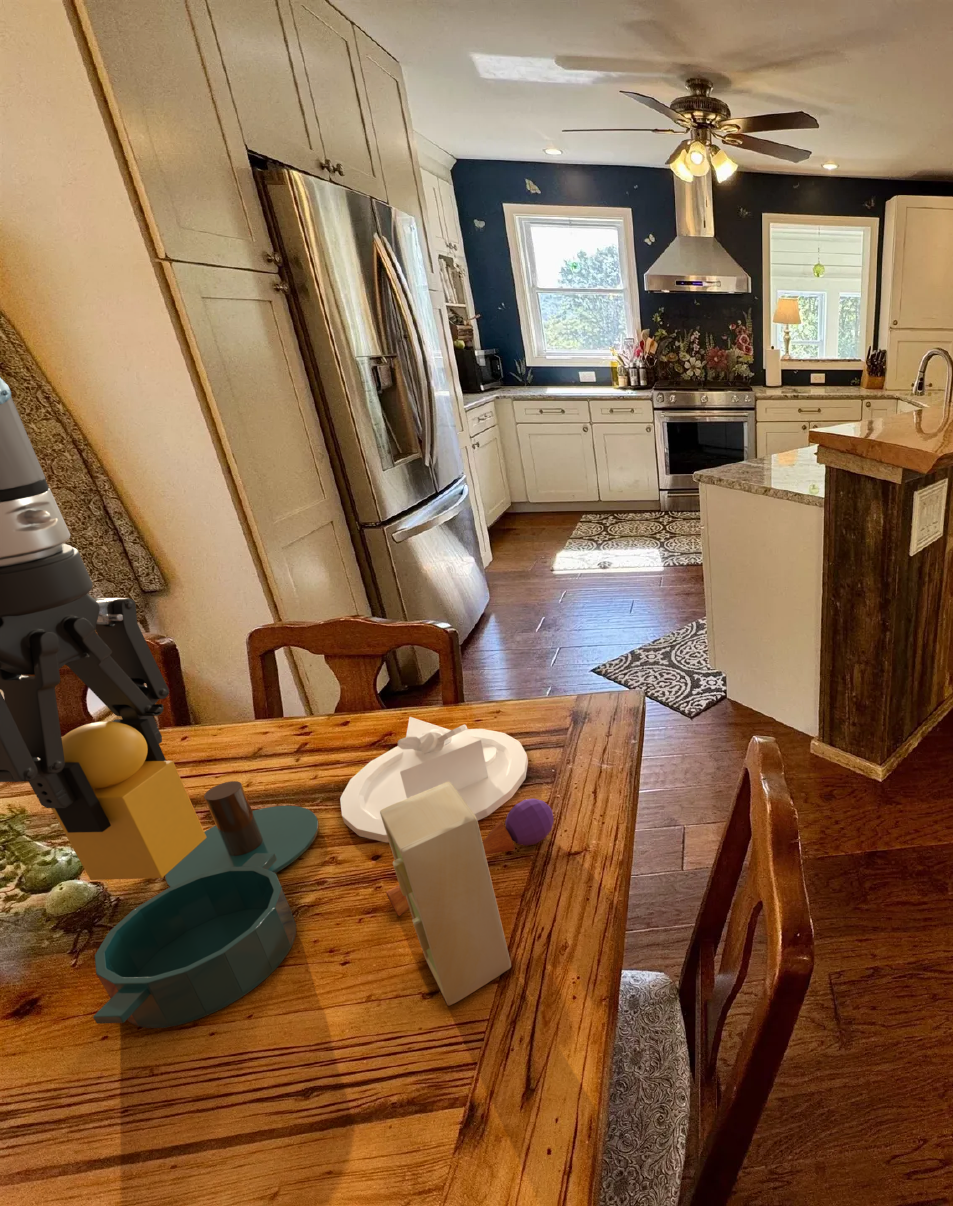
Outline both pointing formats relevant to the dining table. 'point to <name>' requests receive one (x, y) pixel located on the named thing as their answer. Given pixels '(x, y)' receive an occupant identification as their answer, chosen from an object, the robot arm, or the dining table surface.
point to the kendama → (503, 837)
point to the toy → (130, 805)
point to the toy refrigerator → (447, 889)
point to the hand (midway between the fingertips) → (123, 803)
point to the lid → (246, 834)
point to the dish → (435, 773)
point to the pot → (196, 946)
